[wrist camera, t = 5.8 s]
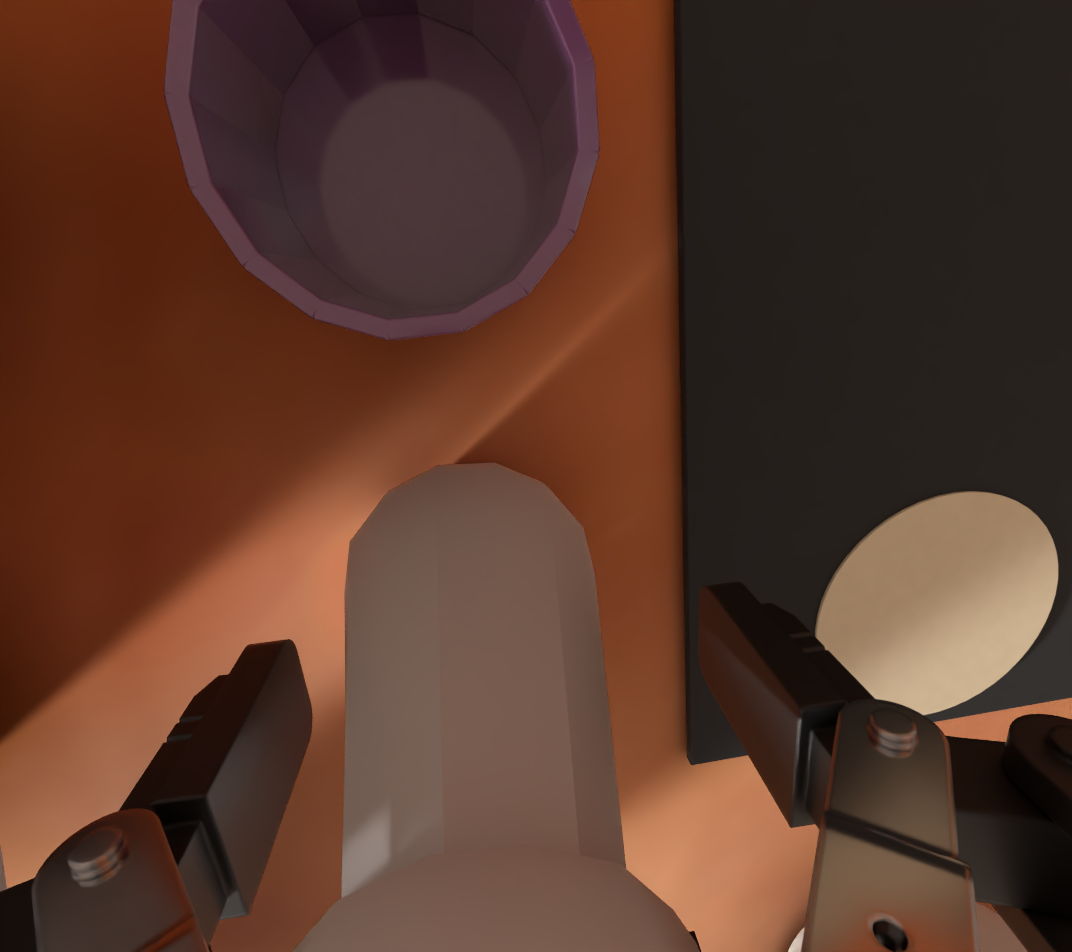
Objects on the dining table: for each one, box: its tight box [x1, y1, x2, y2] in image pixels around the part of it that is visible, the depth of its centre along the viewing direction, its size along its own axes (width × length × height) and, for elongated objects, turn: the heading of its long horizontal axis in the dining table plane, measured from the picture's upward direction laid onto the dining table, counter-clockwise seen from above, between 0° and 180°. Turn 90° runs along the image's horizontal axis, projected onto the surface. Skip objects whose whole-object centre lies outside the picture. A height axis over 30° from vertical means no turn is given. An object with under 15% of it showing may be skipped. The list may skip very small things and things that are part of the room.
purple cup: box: [164, 0, 600, 341], centre depth 11 cm, size 6×6×4 cm
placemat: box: [674, 0, 1072, 765], centre depth 15 cm, size 16×30×1 cm, turn 6°
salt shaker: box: [292, 462, 700, 952], centre depth 10 cm, size 6×6×13 cm
